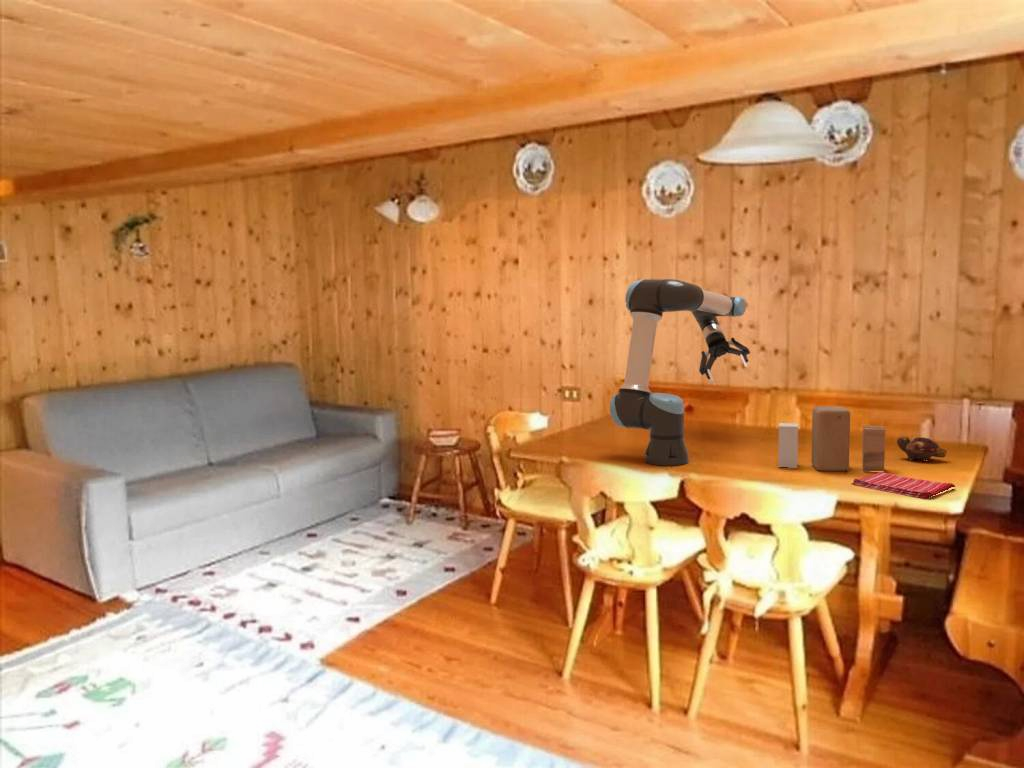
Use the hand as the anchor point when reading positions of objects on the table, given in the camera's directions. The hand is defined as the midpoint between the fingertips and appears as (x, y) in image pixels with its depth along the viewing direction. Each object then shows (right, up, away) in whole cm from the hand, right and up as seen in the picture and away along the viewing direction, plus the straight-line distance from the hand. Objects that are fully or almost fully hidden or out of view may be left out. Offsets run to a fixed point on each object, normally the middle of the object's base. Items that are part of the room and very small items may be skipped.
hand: (730, 376), depth 309 cm
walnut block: (+34, -31, -47) cm, 65 cm away
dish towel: (+33, -34, -68) cm, 83 cm away
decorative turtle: (+55, -29, -35) cm, 71 cm away
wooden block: (+21, -31, -42) cm, 57 cm away
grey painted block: (+9, -31, -38) cm, 49 cm away
